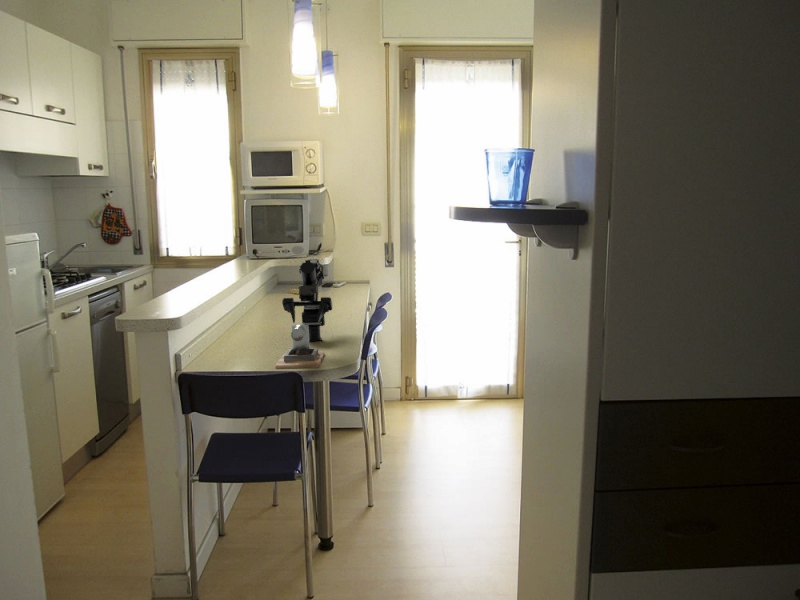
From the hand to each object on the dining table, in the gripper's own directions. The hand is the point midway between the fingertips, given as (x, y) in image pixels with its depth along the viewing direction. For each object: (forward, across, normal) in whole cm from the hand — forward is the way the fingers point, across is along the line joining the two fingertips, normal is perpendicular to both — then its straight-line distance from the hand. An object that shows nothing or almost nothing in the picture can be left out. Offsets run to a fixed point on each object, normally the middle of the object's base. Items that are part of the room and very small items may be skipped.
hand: (305, 322), depth 243 cm
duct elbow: (+16, 0, -1) cm, 16 cm away
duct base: (+17, 0, 0) cm, 17 cm away
